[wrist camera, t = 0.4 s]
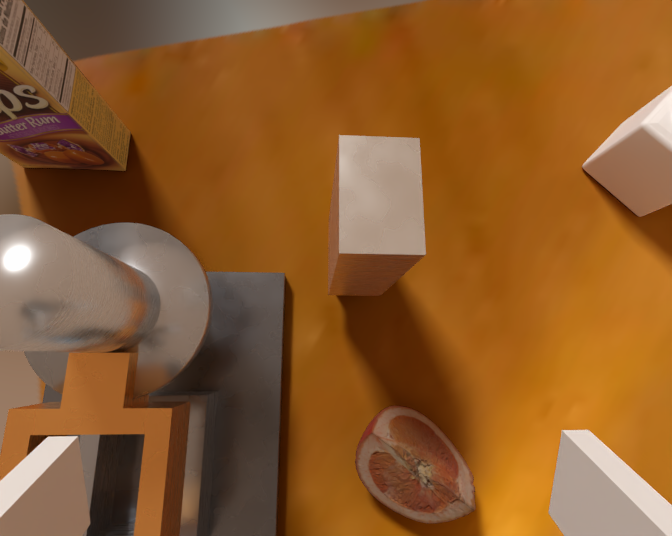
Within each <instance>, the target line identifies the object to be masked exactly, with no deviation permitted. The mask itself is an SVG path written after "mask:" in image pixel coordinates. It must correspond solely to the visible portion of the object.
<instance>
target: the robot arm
mask: <svg viewBox="0 0 672 536" xmlns="http://www.w3.org/2000/svg"><path fill="white" fill-rule="evenodd" d="M549 514H550V516H551V517H552V519H553V520H554V522H555V523H556V524H557V526H558V527H559V529H560V530H561V532H562V533H563V534H564V536H672V505H671V504H670V503H669V502H667V501H666V500H665V499H664V498H663V497H662V496H661V495H660V494H659V493H657V492H656V491H655V490H654V489H653V488H652V487H651V486H650V485H649V484H648V483H646V482H645V481H644V480H643V479H642V478H641V477H640V476H639V475H638V474H637V473H635V472H634V471H633V470H632V469H631V468H630V467H629V466H628V465H627V464H626V463H624V462H623V461H622V460H621V459H620V458H619V457H618V456H617V455H616V454H615V453H613V452H612V451H611V450H610V449H609V448H608V447H607V446H606V445H605V444H604V443H602V442H601V441H600V440H599V439H598V438H597V437H596V436H595V435H594V434H592V433H591V432H590V431H589V430H562V434H561V440H560V446H559V452H558V458H557V464H556V470H555V477H554V483H553V489H552V495H551V501H550V507H549ZM90 524H91V522H90V515H89V508H88V502H87V495H86V488H85V481H84V474H83V467H82V460H81V453H80V446H79V439H78V436H56V437H47V438H46V439H45V440H44V441H43V442H42V443H41V444H40V445H38V446H37V447H36V448H35V449H34V450H33V451H32V452H31V453H30V454H29V455H28V456H27V457H26V458H24V459H23V460H22V461H21V462H20V463H19V464H18V465H17V466H16V467H15V468H14V469H13V470H12V471H10V472H9V473H8V474H7V475H6V476H5V477H4V478H3V479H2V480H1V481H0V536H83V534H84V533H85V531H86V530H87V528H88V527H89V525H90Z"/></svg>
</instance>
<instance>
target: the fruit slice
mask: <svg viewBox="0 0 672 536" xmlns="http://www.w3.org/2000/svg"><path fill="white" fill-rule="evenodd" d="M355 463H356V469H357V472H358V475H359V478H360V479H361V481H362V483H363V484H364V486H365V487H366V488H367V490H368V491H369V492H370V493H371V494H372V495H373V496H374V497H375V498H376V499H377V500H378V501H380V502H381V503H382V504H384V505H385V506H386V507H388V508H390V509H391V510H393V511H395V512H397V513H399V514H401V515H403V516H405V517H407V518H409V519H412V520H415V521H418V522H422V523H441V522H449V521H452V520H456V519H458V518H459V517H464V516H465V515H468V514H469V513H470V512H473V511H474V510H475V508H476V506H475V495H474V492H475V487H474V485H473V480H474V479H473V475H472V473H471V471H470V469H469V467H468V466H467V463H466V462H465V460H464V459H463V457H462V456H461V454H460V453H459V451H458V450H457V449H456V447H455V446H454V445H453V443H452V442H451V441H450V439H449V438H448V437H447V436H446V435H445V434H444V433H443V432H442V431H441V429H440V428H439V427H438V426H437V425H436V424H434V423H433V422H432V421H431V420H430V419H428V418H427V417H426V416H424V415H423V414H421V413H420V412H418V411H416V410H414V409H411V408H408V407H404V406H390V407H387V408H385V409H383V410H382V411H380V412H379V414H378V415H377V416H375V417H374V418H373V420H372V421H371V422H370V424H369V425H368V426H367V428H366V430H365V432H364V433H363V435H362V438H361V440H360V442H359V444H358V447H357V451H356V461H355Z"/></svg>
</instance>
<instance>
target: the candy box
mask: <svg viewBox="0 0 672 536" xmlns="http://www.w3.org/2000/svg"><path fill="white" fill-rule="evenodd" d="M130 136H131V132H130V131H129V130H128V129H127V127H126V126H125V125H124V124H123V122H122V121H121V120H120V119H119V118H118V116H117V115H116V114H115V113H114V111H113V110H112V109H111V108H110V107H109V105H108V104H107V103H106V102H105V100H104V99H103V98H102V97H101V95H100V94H99V93H98V92H97V91H96V89H95V88H94V87H93V86H92V85H91V83H90V82H89V81H88V80H87V78H86V77H85V76H84V75H83V74H82V72H81V71H80V70H79V69H78V67H77V66H76V65H75V64H74V62H73V61H72V60H71V59H70V58H69V56H68V55H67V54H66V53H65V51H64V50H63V49H62V48H61V46H60V45H59V44H58V43H57V42H56V40H55V39H54V38H53V37H52V35H51V34H50V33H49V32H48V31H47V29H46V28H45V27H44V25H43V24H42V23H41V22H40V21H39V19H38V18H37V17H36V16H35V14H34V13H33V12H32V11H31V10H30V8H29V7H28V6H27V5H26V3H25V2H24V1H23V0H0V153H1V154H3V155H4V156H6V157H7V158H9V159H10V160H12V161H14V162H15V163H17V164H19V165H20V166H22V167H25V168H68V169H93V170H116V171H126V165H127V158H128V151H129V143H130Z"/></svg>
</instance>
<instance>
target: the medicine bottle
mask: <svg viewBox="0 0 672 536" xmlns="http://www.w3.org/2000/svg"><path fill="white" fill-rule="evenodd" d="M582 168H583V169H584V170H585V171H586V172H587V173H588V174H589V175H591V176H592V177H593V178H594V179H595V180H596V181H598V182H599V183H600V184H601V185H602V186H603V187H605V188H606V189H607V190H608V191H609V192H610V193H611V194H613V195H614V196H615V197H616V198H617V199H618V200H620V201H621V202H622V203H623V204H624V205H625V206H627V207H628V208H629V209H630V210H631V211H632V212H633V213H635V214H636V215H637V216H639V217H641V216H644V215H647V214H649V213H652V212H654V211H656V210H659V209H661V208H663V207H666V206H668V205H670V204H672V86H671V87H669V88H668V89H667V90H665V91H664V92H663V93H661V94H660V95H659V96H657V97H656V98H655V99H653V100H652V101H651V102H649V103H648V104H647V105H645V106H644V107H643V108H641V109H640V110H639V111H637V112H636V113H635V114H633V115H632V116H631V117H630V118H628V119H627V120H626V121H624V122H623V123H622V124H621V125H620V126H619V127H618V128H617V129H616V130H615V131H614V132H613V133H612V134H611V135H610V136H609V137H608V138H607V140H606V141H605V142H604V143H603V144H602V145H601V146H600V147H599V148H598V149H597V150H596V151H595V152H594V153H593V154H592V155H591V156H590V158H589V159H588V160H587V161H586V162H585V163H584V164H583V166H582Z"/></svg>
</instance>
